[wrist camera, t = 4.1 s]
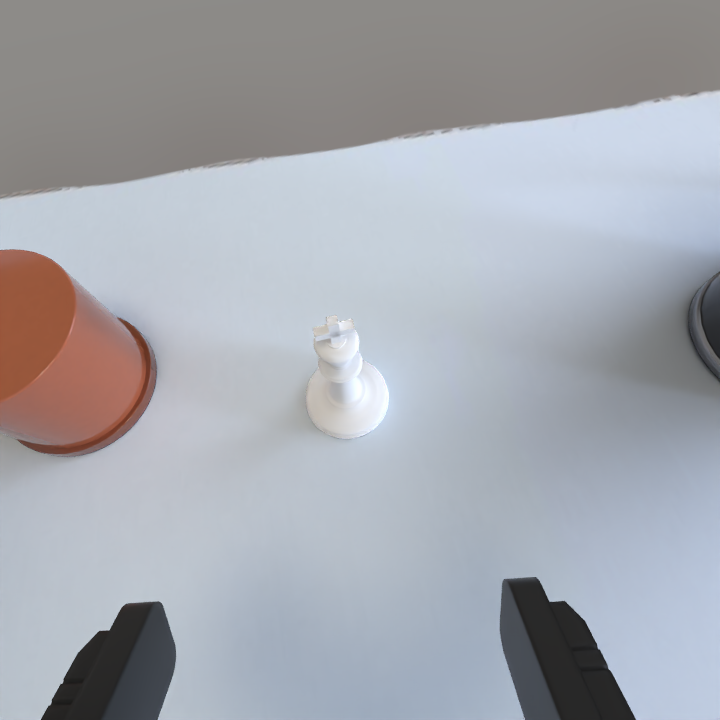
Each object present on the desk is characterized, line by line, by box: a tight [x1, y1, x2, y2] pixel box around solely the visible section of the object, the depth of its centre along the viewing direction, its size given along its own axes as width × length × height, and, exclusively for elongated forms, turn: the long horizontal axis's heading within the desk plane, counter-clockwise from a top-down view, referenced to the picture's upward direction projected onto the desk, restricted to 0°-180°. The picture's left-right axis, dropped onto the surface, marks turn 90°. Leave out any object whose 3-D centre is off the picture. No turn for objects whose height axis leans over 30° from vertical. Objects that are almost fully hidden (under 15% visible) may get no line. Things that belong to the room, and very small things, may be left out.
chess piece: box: [306, 315, 389, 439], centre depth 23 cm, size 5×5×10 cm
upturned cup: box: [0, 249, 156, 457], centre depth 25 cm, size 9×9×8 cm
